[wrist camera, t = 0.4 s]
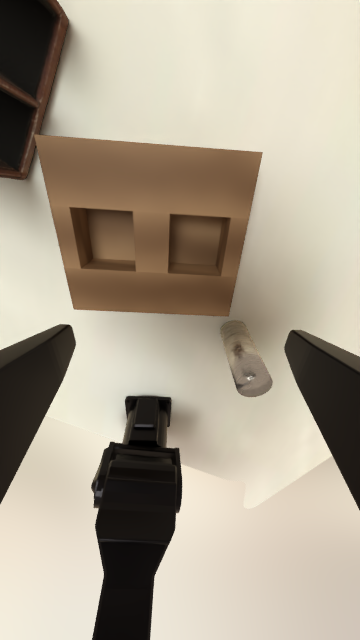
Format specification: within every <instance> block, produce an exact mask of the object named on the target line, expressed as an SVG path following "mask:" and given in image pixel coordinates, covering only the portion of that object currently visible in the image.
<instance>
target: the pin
mask: <svg viewBox="0 0 360 640" xmlns="http://www.w3.org/2000/svg"><path fill="white" fill-rule="evenodd" d="M220 334H221V338H222V341H223V345H224V348H225V351H226V355H227V358H228V361H229V365H230V368H231V371H232V375H233V378H234V382H235V385H236V388H237V391H238V392H239V393H240V394H241V395H243V396H246V397H256V396H260V395H263V394H264V393H266V392H267V391H269V389H270V388H271V386H272V383H273V382H272V379H271V377H270V374H269V372H268V370H267V368H266V366H265V364H264V362H263V360H262V358H261V356H260V354H259V352H258V350H257V348H256V346H255V344H254V342H253V340H252V338H251V336H250V334H249V332H248V330H247V328H246V326H245V325H244V323H242V322H241V321H236V320H234V321H229V322H227V323H226V324H224V325H223V326H222V328H221V331H220Z"/></svg>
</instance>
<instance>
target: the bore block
mask: <svg viewBox="0 0 360 640" xmlns="http://www.w3.org/2000/svg"><path fill="white" fill-rule="evenodd" d="M34 137H35V141H36V146H37V150H38V154H39V159H40V163H41V168H42V172H43V176H44V181H45V185H46V190H47V194H48V198H49V203H50V207H51V211H52V216H53V220H54V225H55V229H56V233H57V238H58V242H59V247H60V251H61V255H62V260H63V264H64V269H65V273H66V277H67V282H68V286H69V291H70V295H71V299H72V304H73V308H74V309H77V310H99V311H120V312H142V313H164V314H185V315H207V316H229V312H230V307H231V302H232V297H233V293H234V288H235V283H236V278H237V273H238V269H239V264H240V259H241V254H242V249H243V244H244V240H245V235H246V230H247V225H248V220H249V216H250V211H251V206H252V201H253V196H254V191H255V187H256V182H257V177H258V172H259V167H260V163H261V158H262V153H263V152H251V151H238V150H226V149H213V148H200V147H187V146H175V145H162V144H149V143H136V142H124V141H111V140H98V139H86V138H73V137H60V136H47V135H35V134H34Z"/></svg>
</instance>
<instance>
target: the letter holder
mask: <svg viewBox="0 0 360 640" xmlns="http://www.w3.org/2000/svg"><path fill="white" fill-rule="evenodd" d="M67 27H68V18H67V16H66V14H65V12H64V10H63V9H62V7H61V6H60V5H59V3H58V1H57V0H0V177H3V178H12V179H17V180H24V179H25V178H26V177H27V175H28V171H29V168H30V164H31V161H32V157H33V154H34V149H35V146H36V141H35V137H34V134H35V135H39V132H40V128H41V124H42V121H43V117H44V113H45V109H46V105H47V103H48V99H49V95H50V91H51V87H52V84H53V79H54V77H55V73H56V69H57V65H58V62H59V59H60V52H61V50H62V45H63V43H64V39H65V35H66V31H67Z"/></svg>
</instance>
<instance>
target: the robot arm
mask: <svg viewBox="0 0 360 640" xmlns="http://www.w3.org/2000/svg"><path fill="white" fill-rule="evenodd" d="M75 346H76V341H75V337H74V333H73V329H72V327H71V326H70V325H65V324H60V325H57V326H55V327H52V328H50V329H48V330H46V331H43V332H41V333H39V334H36V335H34V336H32V337H29V338H27V339H25V340H23V341H20V342H18V343H16V344H13V345H11V346H9V347H7V348H4V349H2V350H0V504H1V502H2V500H3V498H4V496H5V494H6V492H7V490H8V488H9V486H10V484H11V482H12V480H13V478H14V476H15V474H16V472H17V470H18V468H19V466H20V464H21V462H22V460H23V458H24V456H25V454H26V452H27V450H28V448H29V446H30V444H31V442H32V441H33V439H34V437H35V434H36V433H37V431H38V429H39V427H40V425H41V423H42V421H43V419H44V417H45V415H46V413H47V411H48V409H49V407H50V405H51V403H52V401H53V399H54V397H55V395H56V393H57V391H58V389H59V387H60V385H61V383H62V381H63V379H64V376H65V374H66V371H67V368H68V366H69V363H70V360H71V358H72V355H73V352H74V349H75ZM284 350H285V353H286V356H287V359H288V362H289V364H290V367H291V370H292V373H293V375H294V378H295V380H296V383H297V385H298V387H299V389H300V391H301V393H302V395H303V397H304V399H305V401H306V403H307V405H308V407H309V409H310V411H311V413H312V415H313V417H314V419H315V421H316V423H317V425H318V427H319V429H320V431H321V433H322V435H323V437H324V439H325V441H326V443H327V445H328V448H329V450H330V452H331V454H332V456H333V457H334V459H335V462H336V464H337V466H338V468H339V469H340V471H341V474H342V476H343V478H344V480H345V482H346V484H347V486H348V488H349V490H350V492H351V494H352V496H353V498H354V500H355V502H356V504H357V506H358V508H359V510H360V357H359V356H357V355H354V354H352V353H350V352H348V351H346V350H344V349H341V348H339V347H337V346H335V345H333V344H331V343H328V342H326V341H324V340H322V339H320V338H318V337H315V336H313V335H311V334H309V333H307V332H305V331H302V330H292V331H290V333H289V335H288V338H287V341H286V344H285V347H284ZM125 405H126V414H127V424H126V429H125V433H124V438H123V443H115V442H110V445H109V447H108V448H106V449H105V450H104V452H103V456H102V459H101V463H100V465H99V468H98V470H97V473H96V475H95V478H94V480H93V483H92V487H91V488H92V491H93V492H94V508H99V510H98V514H97V519H96V524H95V529H96V534H97V539H98V545H99V549H100V555H101V560H102V566H103V571H104V579H103V584H102V590H101V595H100V600H99V606H98V611H97V617H96V622H95V627H94V633H93V638H92V640H150V632H151V631H150V630H151V617H152V601H153V587H154V576H155V574H156V571H157V569H158V567H159V565H160V562H161V560H162V558H163V556H164V554H165V551H166V549H167V547H168V545H169V543H170V541H171V538H172V536H173V533H174V531H175V521H176V513H179V510H180V506H181V499H182V474H181V463H180V453H179V448H166V443H167V427H169V426H170V412H171V399H170V398H156V397H126V399H125Z"/></svg>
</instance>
